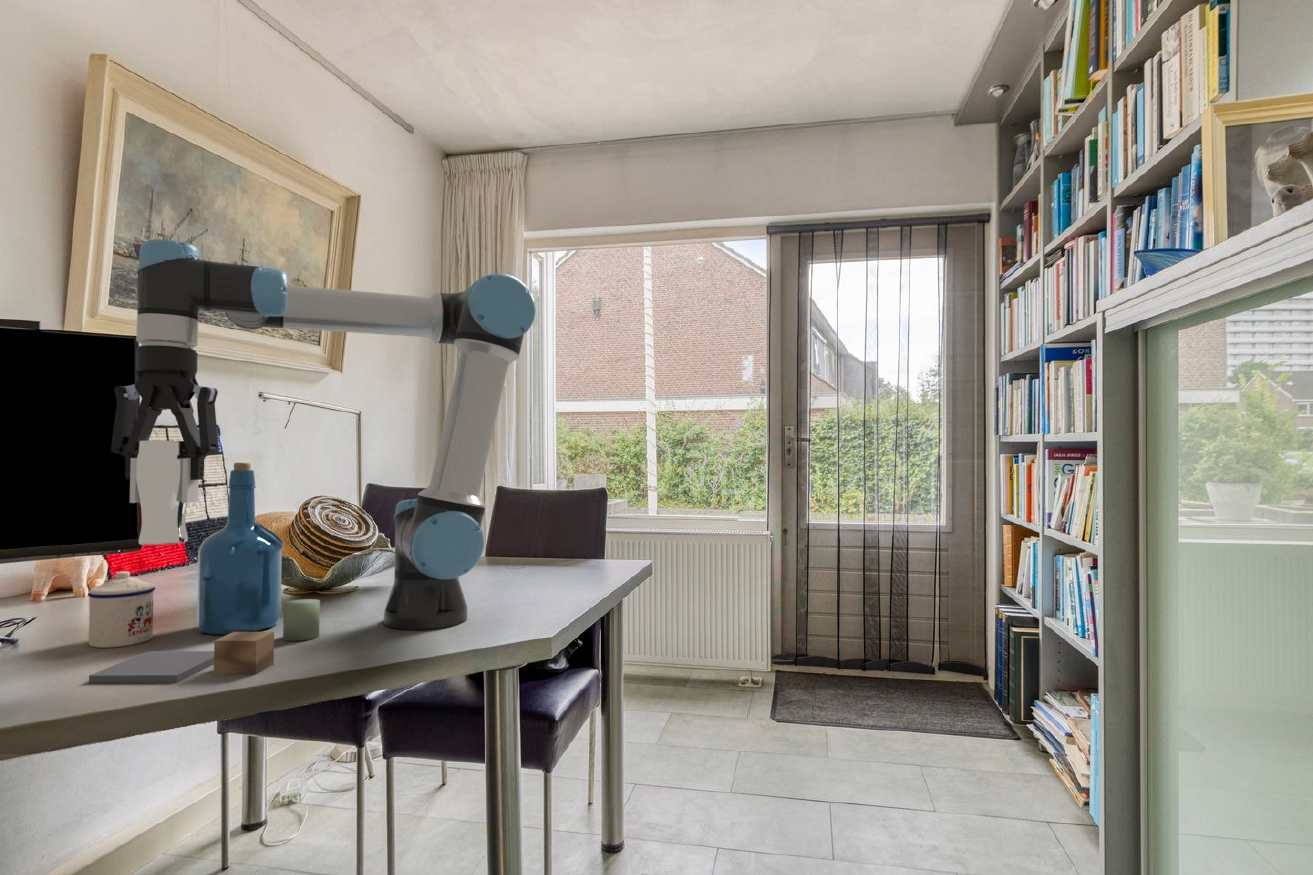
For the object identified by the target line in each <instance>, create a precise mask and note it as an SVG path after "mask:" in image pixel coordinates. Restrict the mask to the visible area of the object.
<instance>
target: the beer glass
mask: <svg viewBox="0 0 1313 875" xmlns="http://www.w3.org/2000/svg"><path fill="white" fill-rule="evenodd" d="M185 455H188V452H187V450H186V447H185V444H184V441H183V440H148V441H138V448H137V457H136V483H137V489H138V495H139V500H140V502H139V504H140V508H141V519H142V520H141V528H140V533H139V538H138V544H139V545H141V546H160V545H161V546H162V545H174V544H181V543H186V542H188V541H189V536H188V531H187V526H186V514H187V508H188V503H182V464H183V459H184V458H187V457H186V456H185Z"/></svg>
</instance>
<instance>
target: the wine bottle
mask: <svg viewBox="0 0 1313 875" xmlns="http://www.w3.org/2000/svg"><path fill="white" fill-rule="evenodd" d="M251 466H252V464H251V463H250V462H235V463H233V470H230V472H229V473H230V474H229V480H228V486H227V488H228V489H229V490H228V504H227V505H228V507H227V523H226V524H225V526H224V528H221V529H220V530H219V531H216V532H213V533H212V534H211V535H209V536H207V537H206V538H205V539H204V540H203V541H202V542H201V544H200V546H199V548H198V553H197V554H198V555H197V602H196V603H197V604H196V605H197V606H196V607H197V608H196V610H197V611H196V615H197V616H196V625H197V627H198V629H199V630H200V632H201V633H202V634H203V633H204V634H208V635H209V634H210V635H217V636H226V635H228V634H230V633H233V632H260V631H263V630H266V629H269V628H272V627H273V626H275V625H276V624H278V623H279V622H280V620H281V618H282V568H283V567H282V564H283V562H282V560H283V558H282V557H283V550H282V549H283V548H284V547H285V543H284V542H283V540H282V539H281V538H280V537H279V536H278V535H277V534H275V533H274V532H273V531H271V530H270V529H268V528H267V527H265V526H264V525H262V524H261V523H259V522H256V504H255V500H256V499H255V497H256V496H255V489H256V488H257V486H256V478H255V471H254V469H252V468H251Z"/></svg>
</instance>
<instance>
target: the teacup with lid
mask: <svg viewBox="0 0 1313 875" xmlns="http://www.w3.org/2000/svg"><path fill="white" fill-rule="evenodd" d="M155 590H156V587H155V584H153V582H149V581H144V580H141V579H139V578H137V577H133V576H131V573H130V572H129V570H128V571H124V570H123V571H117V572H115V575H114V578H110V579H109V580H107V581H105V582H104V583H102V584H100V585H97V586H95V587H92V588H91V589H89V590H88V593H87V596H88V597H89V608H88V610H89V612H88V613H89V614H88V615H89V616H88V619H89V620H88V622H89V623H88V645H89V646H90V647H93V648H97V649H98V648H99V649H108V648H109V649H110V648H111V649H112V648H120V647H128V646H133V645H137V644H142V643H145V642H147V641H149V640H151V639H152V638H153V635H154V634H153V632H154V628H153V626H154V591H155Z"/></svg>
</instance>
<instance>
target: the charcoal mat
mask: <svg viewBox="0 0 1313 875" xmlns="http://www.w3.org/2000/svg"><path fill="white" fill-rule="evenodd" d="M212 665H214V650H186V651H185V650H165V651H164V650H156V651H155V650H154V651H153V650H152V651H150V650H148V651H145V652H142V653H140V654H138V655H135V656H133V657H130V658H128V659H125V660H123V661H121V662H119V663H115V664H114V665H111V666H109V667H106V668H104V669H102V670H99V671H97V672H94V673H92V674H90V675H88V683H89V684H92V683H94V684H98V683H99V684H101V683H103V684H105V683H107V684H109V683H111V684H114V683H115V684H117V683H118V684H119V683H120V684H123V683H125V684H126V683H127V684H129V683H130V684H133V683H142V684H144V683H145V684H147V683H148V684H149V683H160V684H161V683H179V682H181V681H183V680H186V679H187V678H189V677H191V676H192V675H195V674H197V673H199V672H200V671H202V670H204V669H207V668H208V667H210V666H212Z"/></svg>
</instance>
